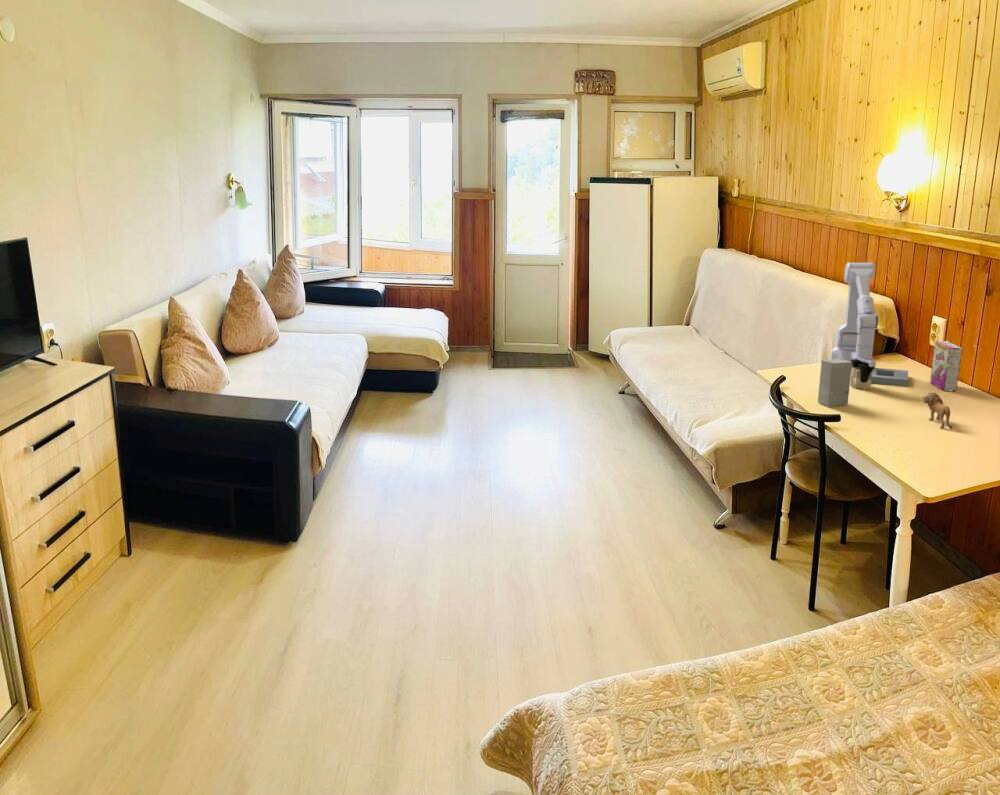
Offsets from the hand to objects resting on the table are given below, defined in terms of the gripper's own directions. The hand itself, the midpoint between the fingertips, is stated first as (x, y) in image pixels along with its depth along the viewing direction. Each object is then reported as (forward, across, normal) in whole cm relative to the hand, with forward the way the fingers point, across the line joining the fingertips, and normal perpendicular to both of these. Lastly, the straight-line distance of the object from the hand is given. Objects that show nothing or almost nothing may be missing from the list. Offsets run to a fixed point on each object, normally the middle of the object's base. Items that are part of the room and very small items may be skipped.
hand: (860, 380), depth 312 cm
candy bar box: (+3, +5, +29) cm, 30 cm away
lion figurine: (+3, +42, +4) cm, 43 cm away
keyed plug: (+2, 0, 0) cm, 2 cm away
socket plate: (+2, -8, +14) cm, 16 cm away
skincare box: (+3, +18, -20) cm, 27 cm away
